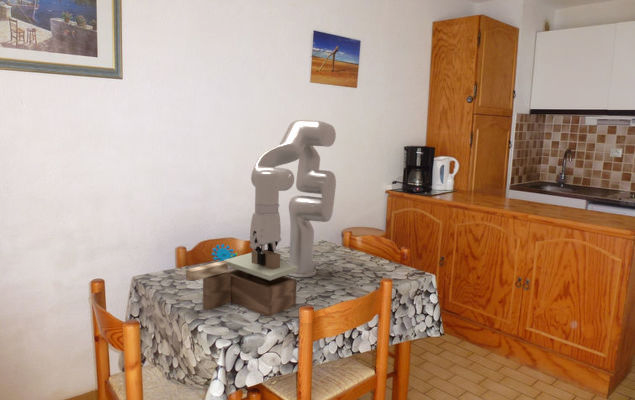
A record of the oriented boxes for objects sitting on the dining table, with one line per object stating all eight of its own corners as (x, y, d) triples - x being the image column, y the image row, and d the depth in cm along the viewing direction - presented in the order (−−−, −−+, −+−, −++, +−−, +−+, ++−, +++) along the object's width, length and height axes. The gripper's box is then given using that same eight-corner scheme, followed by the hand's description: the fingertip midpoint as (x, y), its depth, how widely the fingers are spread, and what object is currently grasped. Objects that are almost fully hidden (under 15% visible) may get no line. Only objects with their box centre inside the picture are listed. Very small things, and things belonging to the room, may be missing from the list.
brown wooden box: (250, 289, 171) (251, 261, 169) (295, 305, 157) (297, 275, 155) (199, 305, 153) (199, 274, 152) (245, 326, 140) (245, 292, 138)
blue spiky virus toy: (212, 263, 194) (211, 242, 200) (209, 269, 199) (208, 249, 204) (238, 264, 199) (237, 244, 205) (234, 271, 203) (233, 251, 209)
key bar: (221, 269, 156) (221, 260, 156) (227, 271, 154) (227, 262, 154) (186, 279, 145) (186, 269, 145) (191, 281, 144) (192, 271, 143)
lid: (251, 256, 169) (252, 240, 168) (297, 270, 156) (298, 253, 155) (223, 264, 159) (223, 247, 158) (269, 280, 146) (270, 261, 145)
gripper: (276, 203, 161) (274, 255, 164) (239, 210, 148) (238, 266, 152) (292, 207, 156) (290, 260, 160) (256, 214, 144) (255, 271, 147)
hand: (265, 262), depth 156 cm, fingers closed on lid, 3 cm apart
